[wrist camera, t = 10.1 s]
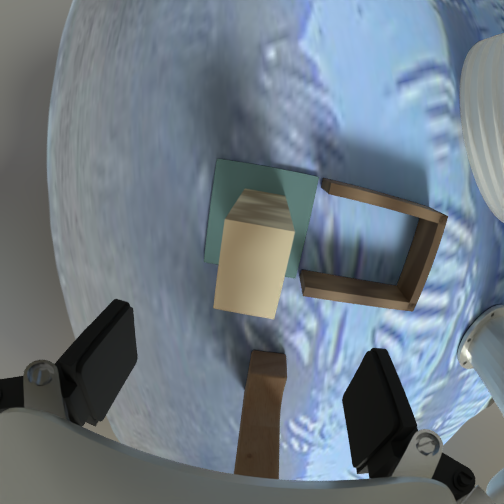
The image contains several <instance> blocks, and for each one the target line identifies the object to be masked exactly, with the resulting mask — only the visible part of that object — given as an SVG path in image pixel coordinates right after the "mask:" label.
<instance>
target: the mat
mask: <svg viewBox="0 0 504 504" xmlns="http://www.w3.org/2000/svg"><path fill="white" fill-rule="evenodd" d="M318 179H319V177H317V176H313V175H308V174H303V173H299V172H294V171H289V170H284V169H278V168H273V167H267V166H262V165H256V164H250V163H244V162H237V161H231V160H224V159H217V162H216V169H215V176H214V183H213V190H212V197H211V205H210V213H209V221H208V229H207V238H206V247H205V256H204V262H206V263H212V264H217V265H219V258H220V251H221V243H222V236H223V229H224V222H225V218H226V217H227V215H228V214H229V212H230V210H231V209H232V207H233V206H234V204H235V203H236V201H237V200H238V198H239V197H240V195H241V194H242V192H243V191H244V189H251V190H256V191H262V192H268V193H273V194H278V195H284V196H286V200H287V204H288V207H289V211H290V215H291V219H292V222H293V226H294V230H295V234H294V238H293V243H292V247H291V251H290V256H289V260H288V264H287V269H286V273H285V277H290V278H296V274H297V270H298V266H299V262H300V258H301V254H302V250H303V246H304V242H305V238H306V233H307V229H308V225H309V220H310V216H311V212H312V207H313V203H314V198H315V193H316V189H317V184H318Z"/></svg>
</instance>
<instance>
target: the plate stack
mask: <svg viewBox="0 0 504 504" xmlns="http://www.w3.org/2000/svg"><path fill="white" fill-rule="evenodd" d="M460 114H461V123H462V130H463V136H464V142H465V147H466V151H467V155H468V159H469V163H470V166H471V169H472V172H473V175H474V178H475V181H476V183H477V186H478V188H479V190H480V193H481V195H482V197H483V199H484V200H485V202H486V204H487V205H488V207H489V208H490V210H491V211H492V212H493V214H494V215H495V216H496V217H497V218H498V219H499V220H500V221H501V222H503V223H504V33H502V34H499V35H495V36H492V37H490V38H487V39H484V40H481V41H479V42H477V43H476V44H475V45H474V46H473V47H472V48H471V49H470V51H469V52H468V54H467V56H466V58H465V61H464V64H463V68H462V72H461V80H460Z"/></svg>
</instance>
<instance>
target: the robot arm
mask: <svg viewBox="0 0 504 504" xmlns="http://www.w3.org/2000/svg"><path fill="white" fill-rule="evenodd" d="M457 356H458V361H459V363H460V365H461V366H462V367H463V368H466V369H472V368H474V369H475V371H476V372H477V374H478V375H479V377H480V378H481V380H482V381H483V383H484V384H485V386H486V388H487V389H488V391H489V393H490V394H491V396H492V397H493V399H494V401H495V402H496V404H497V406H498V408H499V409H500V411H501V413H502V414H503V416H504V305H496V306H494V307H491V308H490V309H488V310H486V311H485V312H484V313H483V314H481V315H480V316H479V317H478V318H477V319H476V320H475V322H474V323H473V324H472V325H471V326H470V328H469V329H468V330H467V332H466V334H465V335H464V337H463V339H462V341H461V343H460V346H459V349H458V354H457ZM136 362H137V347H136V338H135V327H134V314H133V308H132V307H130V304H129V303H128V302H125V301H122V300H118V299H114V300H113V301H112V302H111V303H110V304H109V305H108V306H107V307H106V309H105V310H104V311H103V312H102V313H101V314H100V315H99V316H98V317H97V318H96V319H95V320H94V321H93V322H92V323H91V324H90V325H89V326H88V327H87V328H86V329H85V330H84V331H83V332H82V334H81V335H80V336H79V337H78V338H77V339H76V340H75V341H74V342H73V344H72V345H71V346H70V347H69V348H68V349H67V350H66V352H65V353H64V354H63V355H62V356H61V357H60V358H59V359H58V361H57V362H56V363H55V364H54V363H52V362H50V361H47V360H37V361H34V362H32V363H30V364H29V365H28V366H27V367H26V369H25V370H24V375H23V376H19V377H13V378H7V379H0V504H504V468H503V469H501V470H500V471H499V472H498V473H497V474H496V475H495V476H494V477H493V478H492V479H491V480H490V482H489V483H488V485H487V488H486V493H485V492H484V491H483V490H482V489H481V488H480V487H479V485H477V486H476V487H475V486H474V485H475V476H474V474H473V472H472V471H471V470H470V469H469V468H468V467H466V466H464V465H463V464H461V463H459V462H457V461H455V460H454V459H452V458H451V457H449V456H447V455H445V454H444V453H442V450H443V443H442V440H441V438H440V437H439V436H438V434H436V433H435V432H433V431H431V430H427V429H423V430H419V431H418V429H417V423H416V421H415V418H414V415H413V412H412V410H411V407H410V404H409V402H408V399H407V397H406V394H405V392H404V389H403V387H402V384H401V382H400V379H399V377H398V374H397V372H396V370H395V367H394V365H393V363H392V360H391V358H390V356H389V353H388V351H387V350H386V349H381V348H372V349H371V350H370V351H368V352H367V353H366V354H365V356H364V358H363V360H362V362H361V364H360V366H359V368H358V370H357V371H356V373H355V375H354V377H353V379H352V381H351V382H350V384H349V386H348V388H347V389H346V391H345V393H344V395H343V399H342V402H343V408H344V414H345V419H346V425H347V431H348V438H349V444H350V451H351V458H352V464H353V467H354V468H356V470H357V474H363V473H369V479H359V480H339V481H298V480H280V479H268V478H258V477H250V476H243V475H236V474H230V473H224V472H219V471H213V470H208V469H204V468H199V467H195V466H191V465H187V464H183V463H179V462H175V461H172V460H168V459H165V458H161V457H158V456H155V455H152V454H149V453H146V452H143V451H140V450H137V449H134V448H132V447H129V446H126V445H124V444H121V443H118V442H116V441H113V440H111V439H108V438H106V437H104V436H101V435H99V434H97V433H94V432H92V431H90V430H88V429H86V428H83V427H82V426H83V425H84V424H85V422H87V423H89V424H91V425H93V426H96V424H97V423H98V421H102V420H103V419H104V418H105V416H106V414H107V412H108V410H109V409H110V407H111V405H112V403H113V402H114V400H115V398H116V397H117V395H118V393H119V391H120V390H121V388H122V386H123V385H124V383H125V381H126V379H127V378H128V376H129V374H130V373H131V371H132V369H133V368H134V366H135V364H136Z"/></svg>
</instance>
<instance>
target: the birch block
mask: <svg viewBox="0 0 504 504" xmlns="http://www.w3.org/2000/svg"><path fill="white" fill-rule="evenodd" d="M294 234H295V230H294V226H293V222H292V219H291V215H290V211H289V207H288V204H287V200H286V196H284V195H278V194H273V193H268V192H262V191H256V190H251V189H244V191H243V192H242V194H241V195H240V197H239V198H238V200H237V201H236V203H235V204H234V206H233V207H232V209H231V210H230V212H229V214H228V215H227V217H226V218H225V222H224V229H223V236H222V243H221V251H220V258H219V266H218V274H217V282H216V290H215V298H214V307H213V308H215V309H220V310H225V311H230V312H235V313H241V314H246V315H252V316H258V317H264V318H270V319H274V317H275V313H276V309H277V305H278V301H279V297H280V293H281V289H282V285H283V281H284V277H285V273H286V269H287V264H288V260H289V256H290V251H291V247H292V243H293V238H294Z"/></svg>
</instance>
